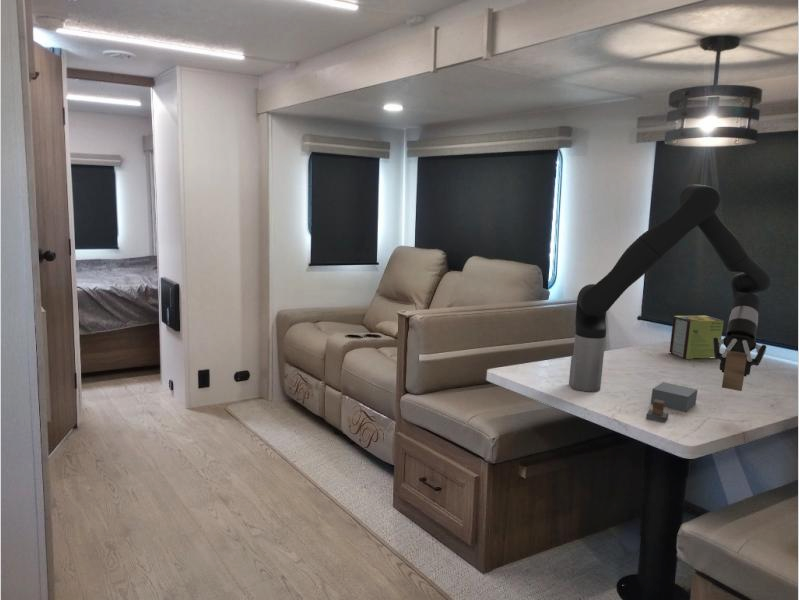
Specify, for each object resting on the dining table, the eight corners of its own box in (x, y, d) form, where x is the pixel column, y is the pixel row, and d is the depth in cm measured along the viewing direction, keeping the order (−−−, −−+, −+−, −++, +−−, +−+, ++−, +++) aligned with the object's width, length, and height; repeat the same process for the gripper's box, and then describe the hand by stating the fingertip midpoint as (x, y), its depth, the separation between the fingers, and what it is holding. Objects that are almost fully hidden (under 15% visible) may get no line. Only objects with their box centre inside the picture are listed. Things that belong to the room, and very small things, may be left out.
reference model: (649, 413, 176) (651, 397, 175) (668, 417, 173) (670, 400, 173) (646, 418, 172) (647, 401, 171) (665, 422, 169) (667, 405, 168)
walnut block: (723, 383, 180) (728, 350, 179) (742, 386, 178) (747, 353, 176) (721, 387, 176) (726, 353, 174) (741, 391, 174) (746, 356, 172)
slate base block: (661, 397, 193) (663, 382, 192) (695, 405, 186) (697, 389, 186) (650, 404, 185) (652, 388, 184) (685, 413, 179) (687, 396, 178)
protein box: (719, 358, 244) (724, 320, 242) (685, 359, 241) (690, 320, 238) (700, 352, 254) (705, 315, 252) (668, 352, 251) (672, 315, 248)
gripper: (716, 313, 183) (706, 361, 175) (772, 321, 176) (764, 371, 168) (715, 328, 189) (705, 375, 181) (769, 336, 182) (762, 385, 174)
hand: (734, 372), depth 174 cm, fingers closed on walnut block, 5 cm apart
